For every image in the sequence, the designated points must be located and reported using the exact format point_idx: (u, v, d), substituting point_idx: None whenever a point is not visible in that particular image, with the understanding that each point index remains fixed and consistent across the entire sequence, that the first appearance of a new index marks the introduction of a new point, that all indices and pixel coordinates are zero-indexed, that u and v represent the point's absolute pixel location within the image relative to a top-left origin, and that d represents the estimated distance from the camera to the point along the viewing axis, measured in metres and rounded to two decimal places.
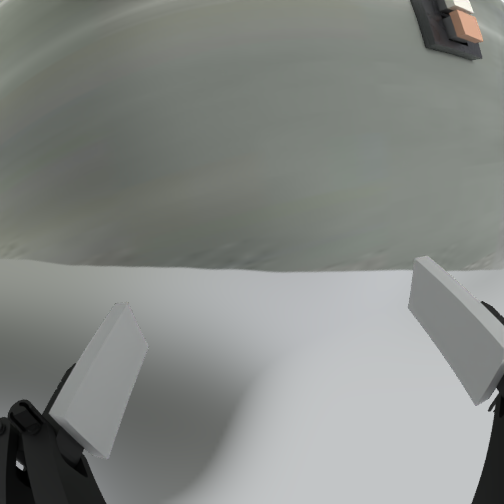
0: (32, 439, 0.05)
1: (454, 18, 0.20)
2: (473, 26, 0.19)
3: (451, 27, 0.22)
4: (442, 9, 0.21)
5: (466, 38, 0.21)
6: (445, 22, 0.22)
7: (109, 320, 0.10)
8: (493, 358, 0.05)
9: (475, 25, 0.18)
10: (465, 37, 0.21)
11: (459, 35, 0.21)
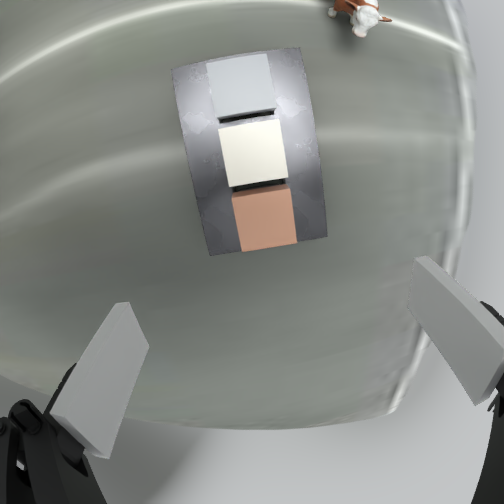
0: (33, 439, 0.05)
1: None
2: (273, 219, 0.22)
3: None
4: None
5: None
6: None
7: (109, 320, 0.10)
8: (492, 358, 0.05)
9: (282, 212, 0.22)
10: None
11: None
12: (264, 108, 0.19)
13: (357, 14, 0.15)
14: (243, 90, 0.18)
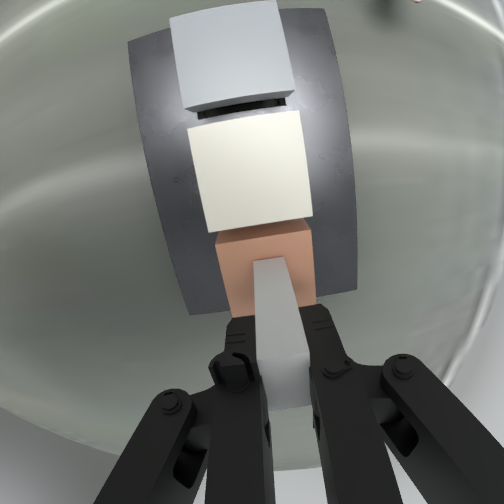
0: (232, 397, 0.06)
1: None
2: None
3: None
4: None
5: None
6: None
7: (261, 273, 0.12)
8: None
9: (296, 267, 0.14)
10: None
11: None
12: (272, 90, 0.10)
13: None
14: (234, 58, 0.09)
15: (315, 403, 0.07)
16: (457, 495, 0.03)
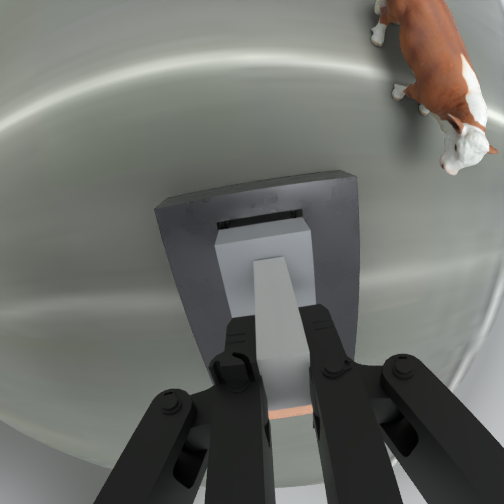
0: (232, 398, 0.06)
1: None
2: None
3: None
4: None
5: None
6: None
7: (261, 273, 0.12)
8: None
9: None
10: None
11: None
12: None
13: (460, 144, 0.10)
14: None
15: (315, 403, 0.07)
16: (457, 495, 0.03)
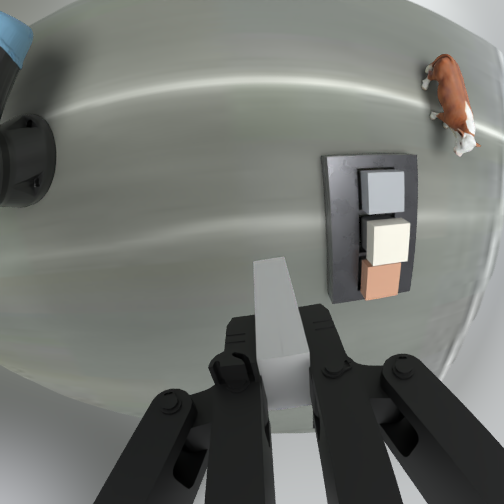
0: (232, 397, 0.06)
1: (363, 273, 0.32)
2: (388, 281, 0.31)
3: (361, 273, 0.34)
4: None
5: None
6: (359, 261, 0.35)
7: (261, 273, 0.12)
8: None
9: (393, 277, 0.31)
10: None
11: (362, 293, 0.34)
12: (397, 211, 0.28)
13: (462, 141, 0.23)
14: (387, 197, 0.27)
15: (315, 403, 0.07)
16: (457, 495, 0.03)
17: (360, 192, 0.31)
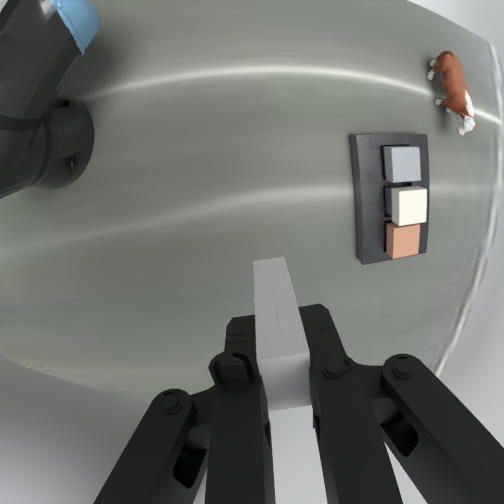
0: (232, 397, 0.06)
1: (389, 234, 0.36)
2: (410, 241, 0.35)
3: (386, 236, 0.38)
4: (389, 214, 0.36)
5: None
6: None
7: (261, 273, 0.12)
8: None
9: (414, 237, 0.35)
10: None
11: (388, 253, 0.37)
12: (415, 180, 0.32)
13: (464, 122, 0.27)
14: (407, 168, 0.31)
15: (315, 403, 0.07)
16: (457, 495, 0.03)
17: (383, 165, 0.34)
